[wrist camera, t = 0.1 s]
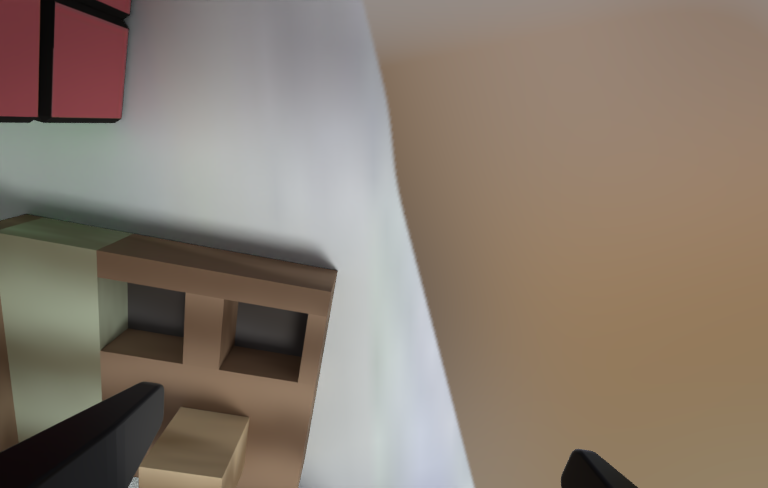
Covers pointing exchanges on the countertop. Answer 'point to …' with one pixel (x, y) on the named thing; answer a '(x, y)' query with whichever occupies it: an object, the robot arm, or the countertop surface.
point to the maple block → (197, 452)
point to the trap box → (160, 334)
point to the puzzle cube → (62, 60)
